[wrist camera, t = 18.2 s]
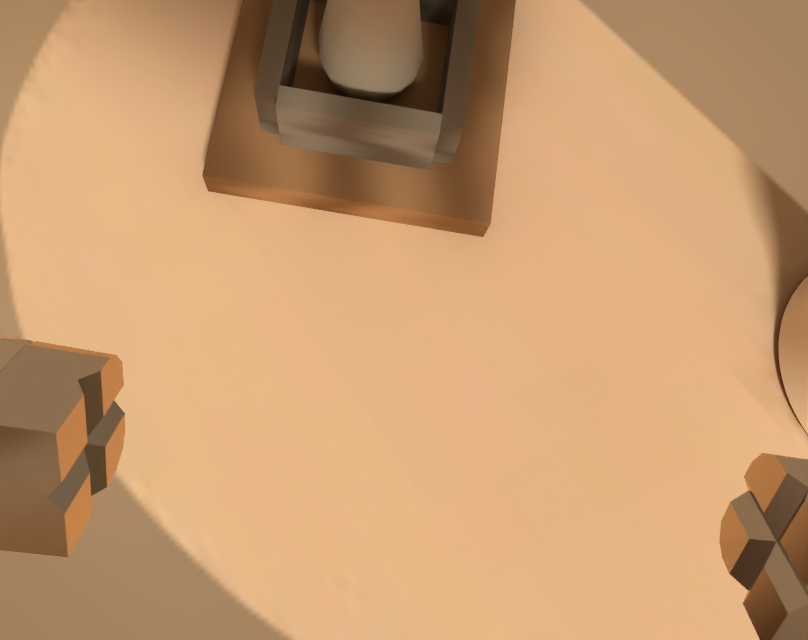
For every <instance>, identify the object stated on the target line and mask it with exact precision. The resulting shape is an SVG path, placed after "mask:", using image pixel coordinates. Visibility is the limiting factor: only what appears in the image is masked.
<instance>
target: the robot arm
mask: <svg viewBox="0 0 808 640" xmlns="http://www.w3.org/2000/svg"><path fill="white" fill-rule="evenodd" d="M779 364H780V371H781V376H782V380H783V384H784V388H785V391H786V394H787V396H788V399H789V402H790V404H791V406H792V408H793V410H794V412H795V414H796V416H797V418H798V420H799V421H800V423H801V425H802V426H803V428H804V429H805V431H806V432H807V434H808V276H807V277H806V278H805V279H804V280H803V281H802V282H801V284H800V285H799V286H798V287H797V289H796V290H795V292H794V293H793V295H792V297H791V299H790V300H789V302H788V305H787V307H786V309H785V312H784V315H783V319H782V322H781V327H780V333H779ZM123 385H124V381H123V368H122V361H121V360H120V359H119V358H118V356H117V355H113V354H107V353H101V352H95V351H89V350H84V349H78V348H72V347H66V346H60V345H54V344H49V343H43V342H37V341H36V342H33V341H30V340H24V339H18V338H11V337H4V336H0V550H5V551H14V552H24V553H33V554H43V555H52V556H61V557H69V555H70V553H71V551H72V549H73V548H74V546H75V544H76V542H77V541H78V539H79V537H80V535H81V533H82V532H83V530H84V528H85V526H86V524H87V523H88V521H89V519H90V517H91V516H92V502H91V496H92V495H94V494H96V493H98V492H99V491H101V490H103V489H105V488H107V486H108V484H109V482H110V481H111V479H112V477H113V475H114V473H115V471H116V469H117V465H118V462H119V459H120V456H121V452H122V449H123V443H124V434H125V413H124V412H123V411H122V409H121V408H120V407H119V406H118V405H117V403H116V402H115V401H114V399H115V398H116V396H117V395H118V393H119V391H120V390H121V388H122V386H123ZM744 478H745V481H746V484H747V487H748V490H749V491H747V492H746V493H744V494H742V495H741V496H739V497H737V498H736V499H734V500H733V501H731V502H730V504H729V506H728V508H727V510H726V512H725V514H724V517H723V519H722V521H721V530H720V541H719V542H720V547H721V553H722V558H723V560H724V562H725V565H726V567H727V569H728V572H729V574H730V575H731V576H732V577H734V578H735V579H736V580H737V581H738V582H739V583H740V584H741V585H743V586H744V587H745V588H746V589H747V590H748V591H747V594H746V597H745V599H744V602H743V604H744V607H745V609H746V611H747V613H748V615H749V617H750V619H751V622H752V624H753V626H754V628H755V630H756V632H757V634H758V637H759V639H760V640H808V459H800V458H793V457H786V456H779V455H772V454H765V453H762V454H761V455H760V456H758V457H757V458H756V459H755V460H754V461H752V463H751V465H750V467H749V468H748V470H747V472H746V474H745V476H744Z"/></svg>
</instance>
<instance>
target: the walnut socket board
mask: <svg viewBox="0 0 808 640" xmlns="http://www.w3.org/2000/svg"><path fill="white" fill-rule="evenodd" d="M515 1H516V0H419V2H420V17H421V31H422V44H423V55H424V58H423V60H422V63H421V65H420V67H419V70H418V72H417V75H416V77H415V79H414V81H413V82H412V83H411V84H410V85H409V86H408V87H406V88H405V89H404V90H403V91H402V92H400V93H399V94H398V95H395V96H393V97H391V98H389V99H387V100H385V101H383V102H381V103H378V102H372V101H366V100H361V99H355V98H349V97H346V96H343V95H342V94H341V93H340V92H339V91H338V90H337V88H336V87H335V86H334V85H333V84H332V82H331V81H330V79H329V77H328V76H327V74H326V72H325V71H324V69H323V67H322V66H321V63H320V60H319V48H318V35H319V31H320V27H321V23H322V19H323V16H324V12H325V8H326V4H327V0H243V3H242V7H241V12H240V16H239V20H238V24H237V29H236V33H235V37H234V42H233V46H232V50H231V55H230V59H229V63H228V67H227V72H226V76H225V80H224V85H223V89H222V93H221V97H220V102H219V106H218V110H217V115H216V119H215V123H214V127H213V132H212V136H211V140H210V145H209V149H208V153H207V157H206V162H205V166H204V170H203V175H202V176H203V178H204V181H205V184H206V186H207V189H208V191H211V192H217V193H223V194H229V195H235V196H241V197H247V198H253V199H259V200H265V201H271V202H277V203H283V204H289V205H295V206H301V207H307V208H313V209H319V210H325V211H331V212H337V213H343V214H349V215H355V216H361V217H367V218H373V219H379V220H385V221H391V222H397V223H403V224H409V225H415V226H421V227H427V228H433V229H439V230H445V231H451V232H457V233H463V234H469V235H475V236H481V237H483V236H484V234H485V232H486V231H487V229H488V227H489V225H490V223H491V214H492V205H493V196H494V187H495V178H496V170H497V161H498V152H499V143H500V134H501V125H502V116H503V108H504V99H505V90H506V81H507V72H508V63H509V54H510V46H511V37H512V28H513V19H514V10H515Z"/></svg>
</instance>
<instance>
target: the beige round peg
mask: <svg viewBox="0 0 808 640" xmlns="http://www.w3.org/2000/svg"><path fill="white" fill-rule="evenodd" d="M318 48H319V60H320V63H321V66H322V67H323V69H324V71H325V72H326V74H327V76H328V77H329V79H330V81H331V82H332V84H333V85H334V86H335V87H336V88H337V90H338V91H339V92H340V93H341V94H342V95H343V96H346V97H349V98H355V99H361V100H366V101H372V102H378V103H381V102H383V101H385V100H387V99H389V98H391V97H393V96H395V95H398V94H399V93H400V92H402V91H403V90H404V89H405V88H406V87H408V86H409V85H410V84H411V83H412V82H413V81H414V79H415V77H416V75H417V72H418V70H419V67H420V65H421V63H422V60H423V58H424V55H423V44H422V31H421V17H420V2H419V0H327V4H326V8H325V12H324V16H323V19H322V23H321V27H320V31H319V35H318Z"/></svg>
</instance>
